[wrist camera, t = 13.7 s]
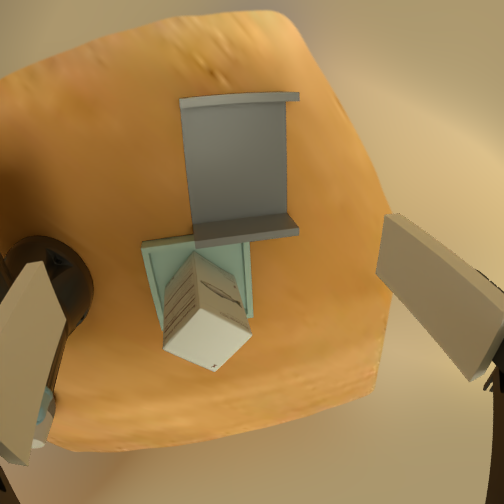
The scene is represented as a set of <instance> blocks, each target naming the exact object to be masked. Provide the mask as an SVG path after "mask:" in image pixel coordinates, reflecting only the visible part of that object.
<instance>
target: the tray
mask: <svg viewBox="0 0 504 504" xmlns="http://www.w3.org/2000/svg"><path fill="white" fill-rule="evenodd" d="M141 251H142V255H143V260H144V264H145V268H146V273H147V277H148V281H149V285H150V289H151V293H152V297H153V300H154V304H155V308H156V312H157V315H158V319H159V322H160V326H161V329H162V331H163V321H164V295H165V287H166V285H167V284H168V283H169V281H170V280H171V279H172V277H173V276H174V275H175V274H176V272H177V271H178V270H179V269H180V267H181V266H182V265H183V264H184V262H185V261H186V260H187V258H188V257H189V256H190V255H191V254H192V252H193V251H195V252H196V253H198V254H199V255H201V256H202V257H204V258H205V259H207V260H208V261H210V262H211V263H213V264H215V265H216V266H218V267H219V268H221V269H223V270H224V271H226V272H228V273H230V274H232V275H234V276H235V279H236V283H237V286H238V289H239V293H240V296H241V299H242V303H243V306H244V310H245V313H246V316H247V318H253V300H252V280H251V261H250V242H245V243H237V244H230V245H223V246H215V247H208V248H201V249H196V248H195V241H194V234H191V235H184V236H177V237H170V238H163V239H156V240H149V241H142V246H141Z"/></svg>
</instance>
